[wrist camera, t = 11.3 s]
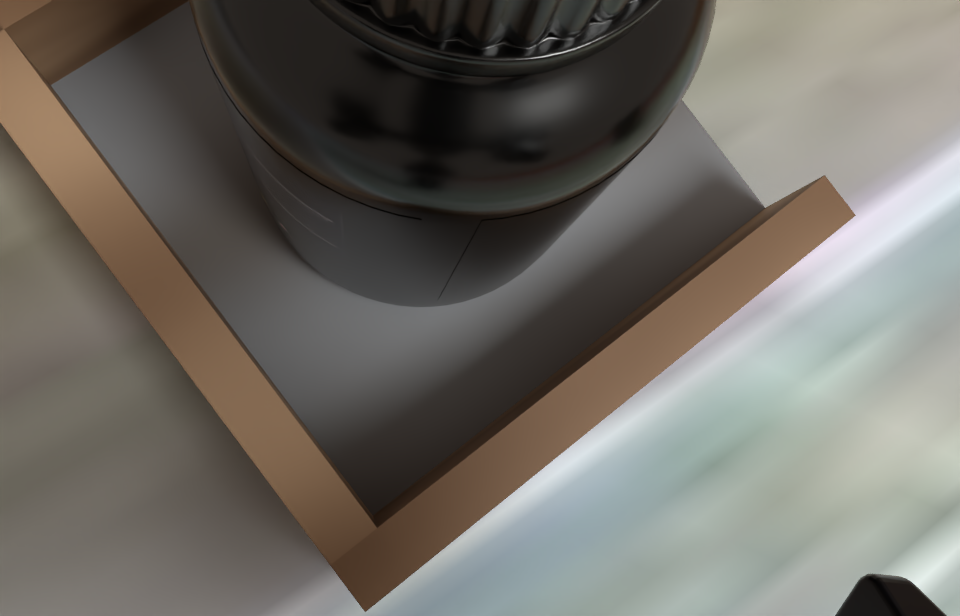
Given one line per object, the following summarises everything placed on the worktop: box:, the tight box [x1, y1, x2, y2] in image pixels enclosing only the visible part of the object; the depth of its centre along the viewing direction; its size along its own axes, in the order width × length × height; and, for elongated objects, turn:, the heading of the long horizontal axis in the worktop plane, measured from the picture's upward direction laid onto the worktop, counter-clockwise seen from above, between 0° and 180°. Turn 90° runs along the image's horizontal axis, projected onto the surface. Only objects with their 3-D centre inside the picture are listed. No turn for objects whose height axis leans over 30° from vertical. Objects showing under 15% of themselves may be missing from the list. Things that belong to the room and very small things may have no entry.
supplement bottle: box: [189, 0, 716, 307], centre depth 14 cm, size 7×7×12 cm
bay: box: [0, 0, 855, 612], centre depth 18 cm, size 13×12×3 cm
